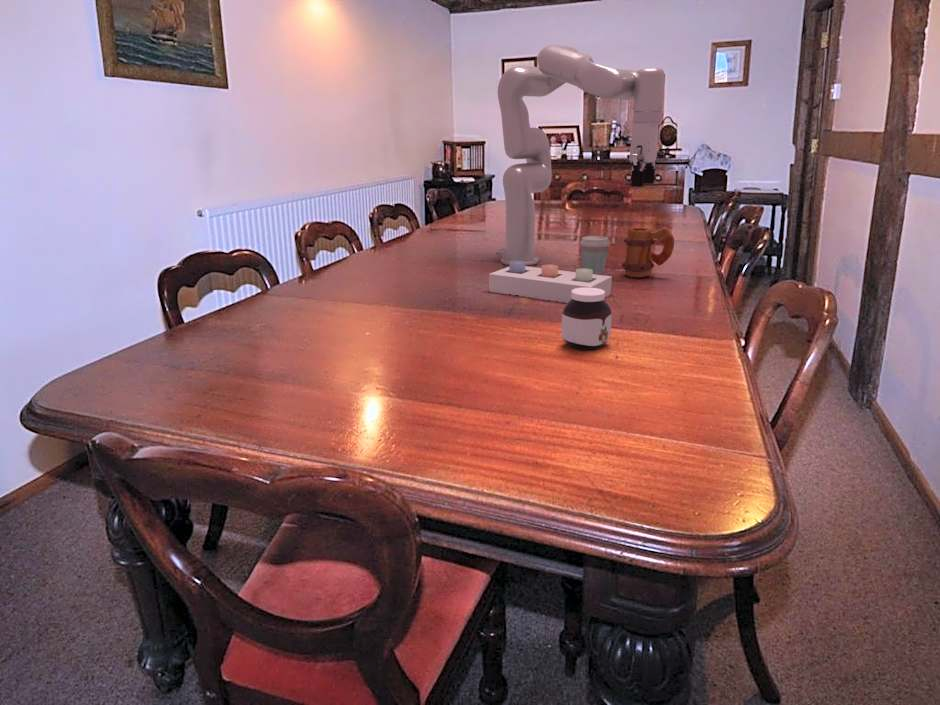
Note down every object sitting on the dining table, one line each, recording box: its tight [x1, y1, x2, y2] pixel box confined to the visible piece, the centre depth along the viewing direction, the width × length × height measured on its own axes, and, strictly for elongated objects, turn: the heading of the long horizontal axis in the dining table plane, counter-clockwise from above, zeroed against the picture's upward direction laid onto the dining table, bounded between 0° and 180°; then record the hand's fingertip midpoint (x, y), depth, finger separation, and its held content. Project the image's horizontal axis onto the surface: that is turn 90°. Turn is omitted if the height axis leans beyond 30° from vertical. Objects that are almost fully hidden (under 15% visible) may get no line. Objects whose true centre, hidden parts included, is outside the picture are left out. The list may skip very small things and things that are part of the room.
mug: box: [621, 226, 675, 279], centre depth 194 cm, size 15×8×15 cm, turn 62°
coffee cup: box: [579, 235, 610, 275], centre depth 194 cm, size 8×8×12 cm
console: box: [488, 265, 613, 304], centre depth 179 cm, size 30×14×5 cm, turn 57°
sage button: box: [575, 267, 593, 283], centre depth 173 cm, size 4×4×5 cm
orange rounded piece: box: [541, 263, 559, 278], centre depth 178 cm, size 4×4×5 cm
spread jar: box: [560, 287, 613, 351], centre depth 138 cm, size 12×11×12 cm
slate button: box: [509, 261, 526, 274], centre depth 183 cm, size 4×4×5 cm
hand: (642, 185), depth 181 cm, fingers open, 9 cm apart
